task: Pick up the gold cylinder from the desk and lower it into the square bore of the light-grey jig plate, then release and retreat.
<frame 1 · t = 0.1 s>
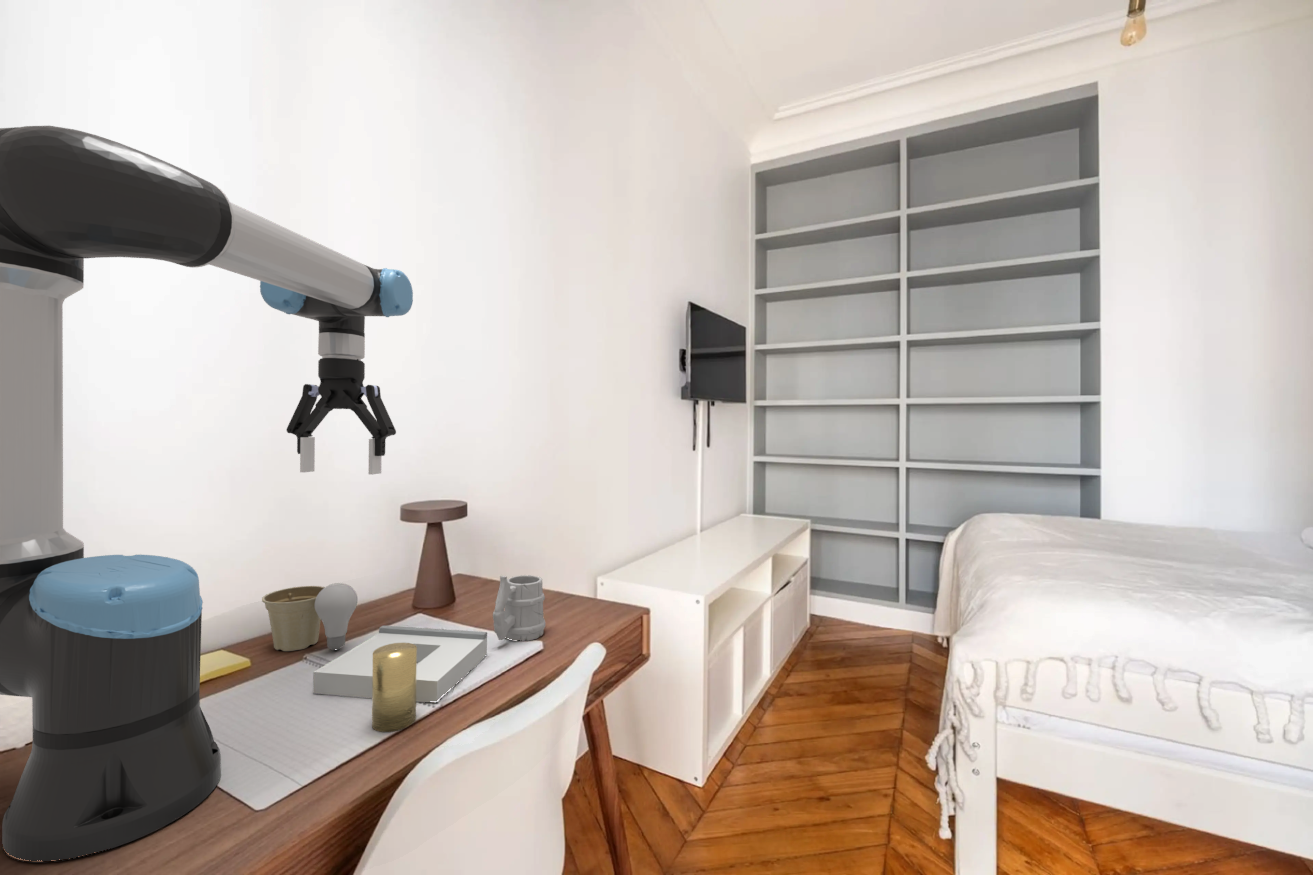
hand: (340, 473, 104), 28 cm above the table, fingers open, 13 cm apart
lightbulb: (336, 651, 91), on the table
gold cylinder: (394, 721, 70), on the table
jig: (407, 672, 84), on the table
mug: (516, 638, 98), on the table
flower pot: (295, 646, 93), on the table
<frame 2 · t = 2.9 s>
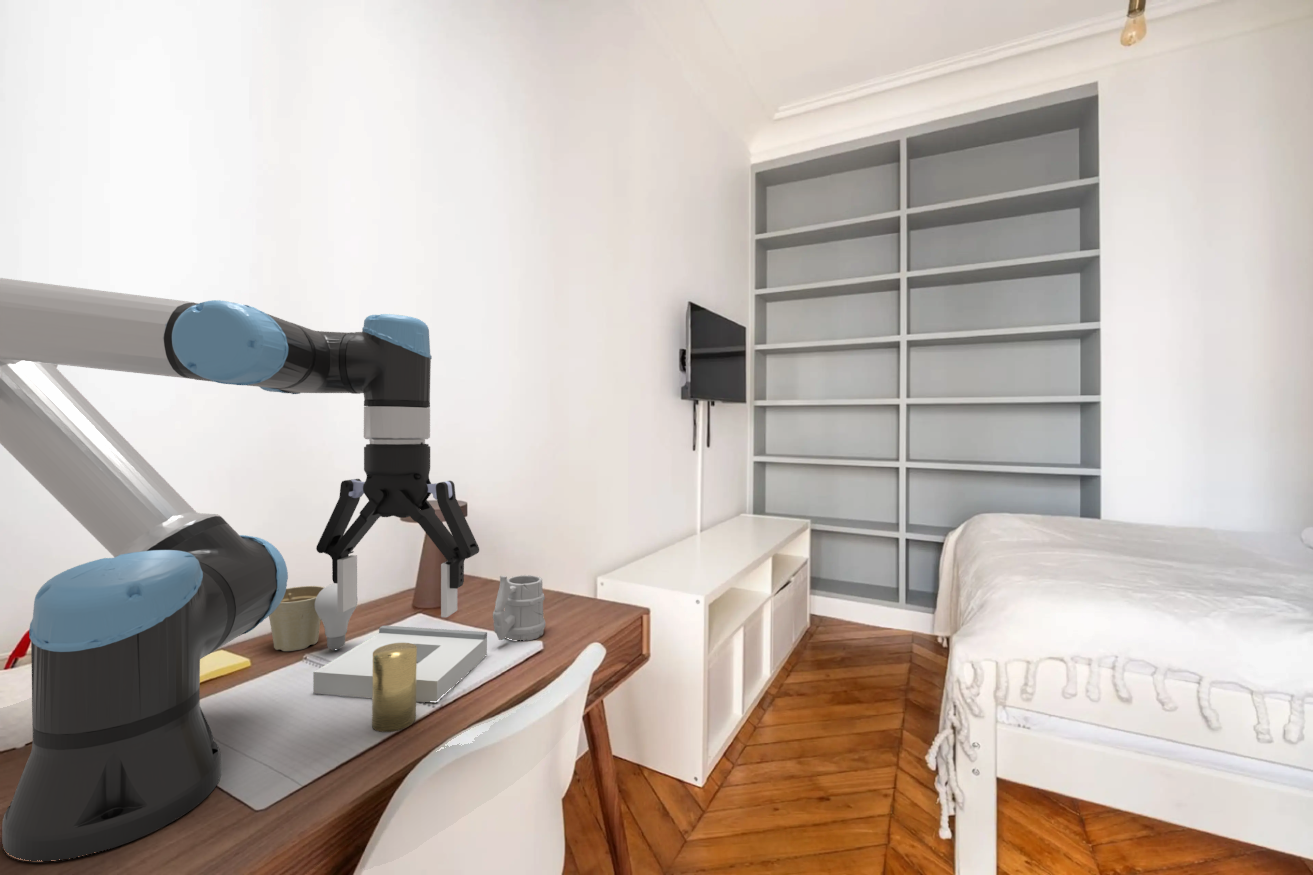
hand: (397, 611, 70), 14 cm above the table, fingers open, 13 cm apart
nothing on the table moved.
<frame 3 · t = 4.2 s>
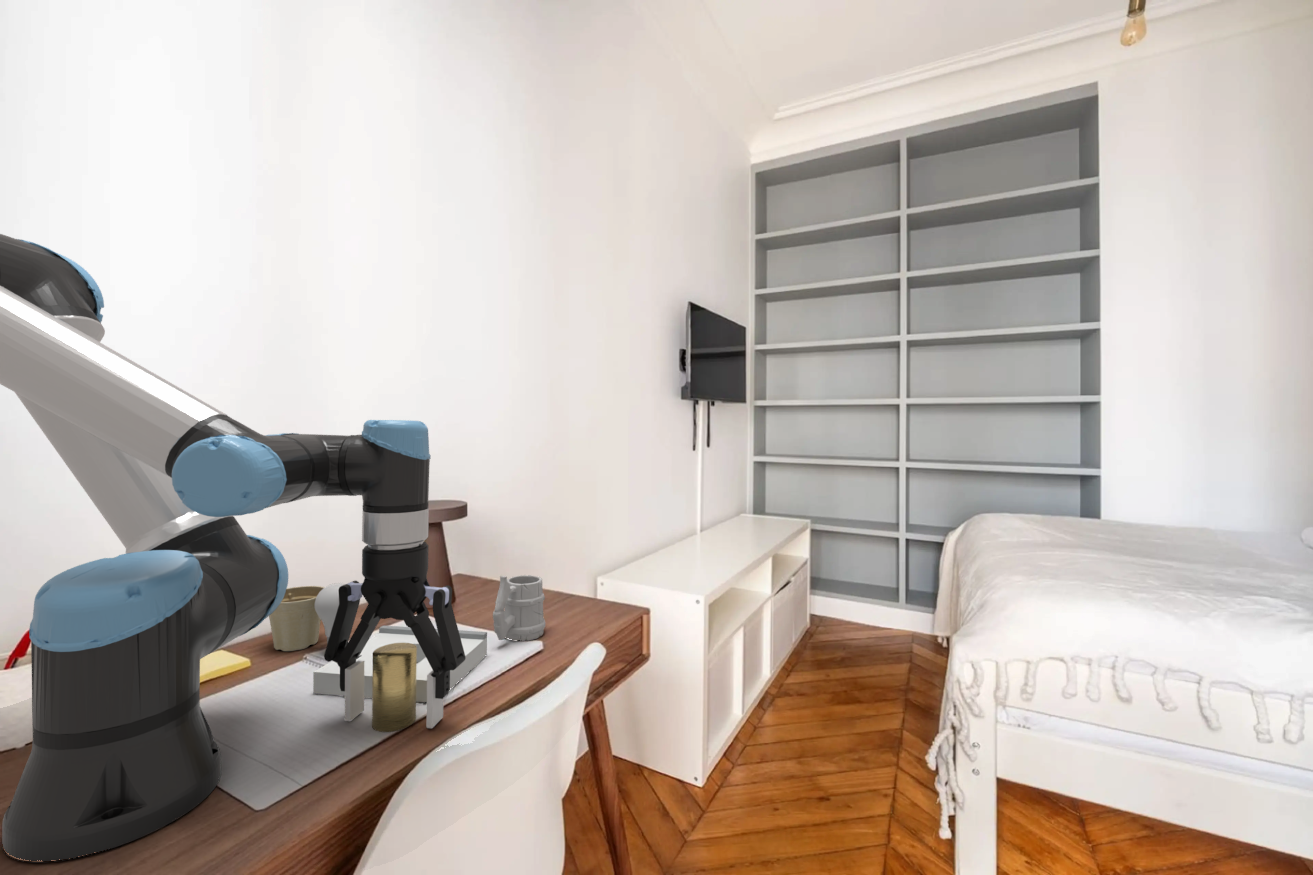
hand: (394, 718, 70), 0 cm above the table, fingers open, 10 cm apart
nothing on the table moved.
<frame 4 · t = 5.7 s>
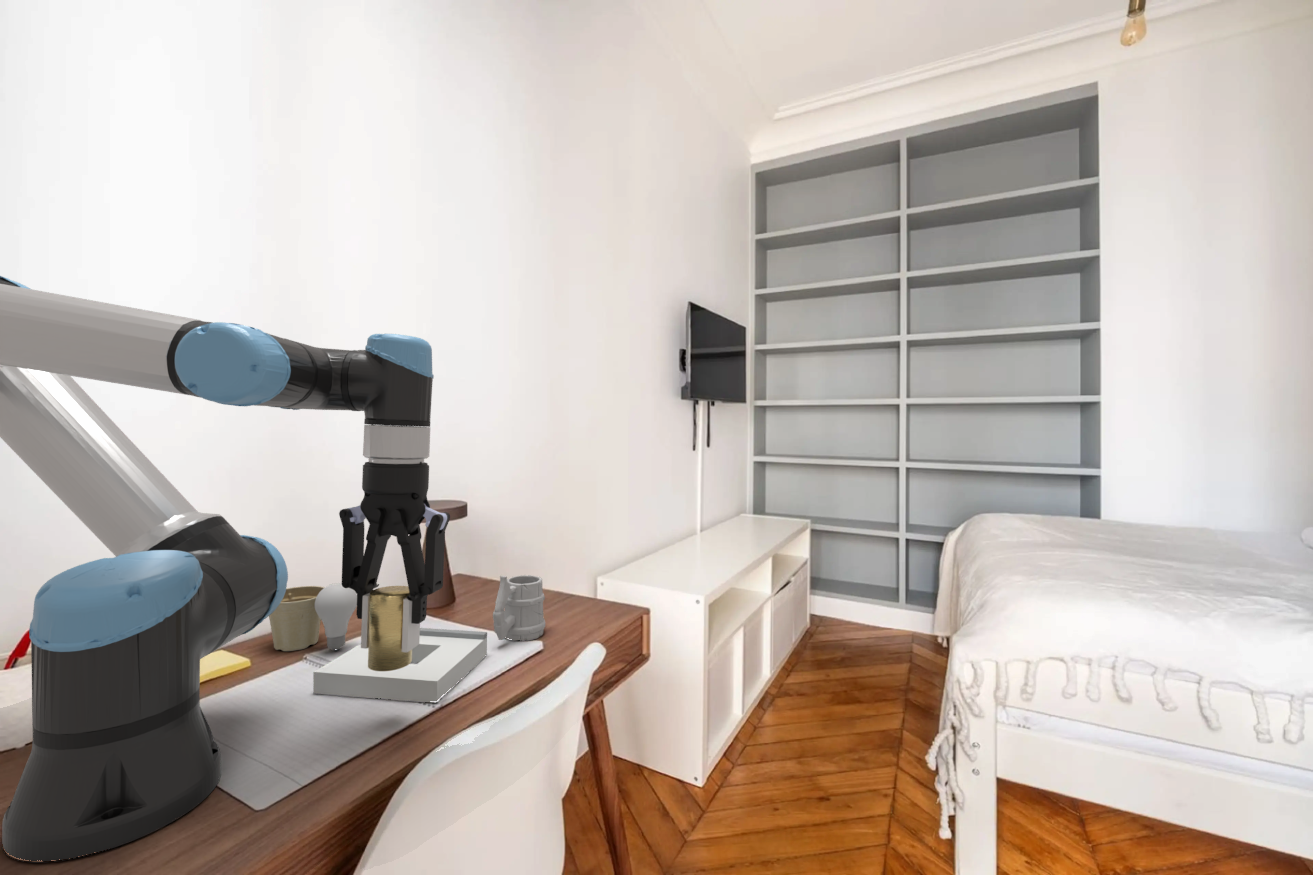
hand: (390, 645, 70), 10 cm above the table, fingers closed on gold cylinder, 5 cm apart
gold cylinder: (390, 662, 70), point 7 cm above the table, touching gripper
everything else where it was.
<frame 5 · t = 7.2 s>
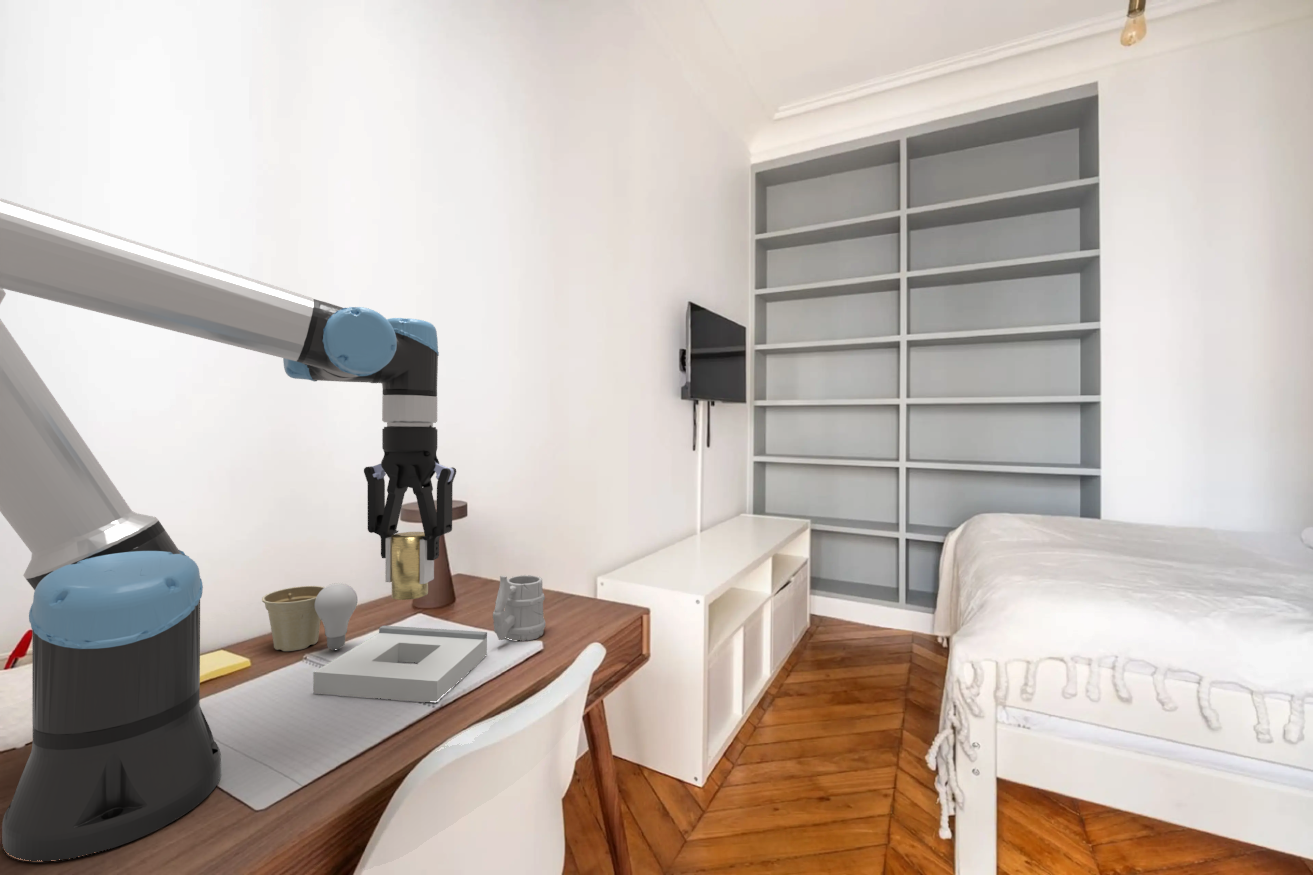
hand: (410, 580, 83), 14 cm above the table, fingers closed on gold cylinder, 5 cm apart
gold cylinder: (410, 594, 83), point 12 cm above the table, touching gripper
everything else where it was.
when the fingers open (3 cm above the table, at t = 8.9 s): gold cylinder drops 1 cm, resting in jig.
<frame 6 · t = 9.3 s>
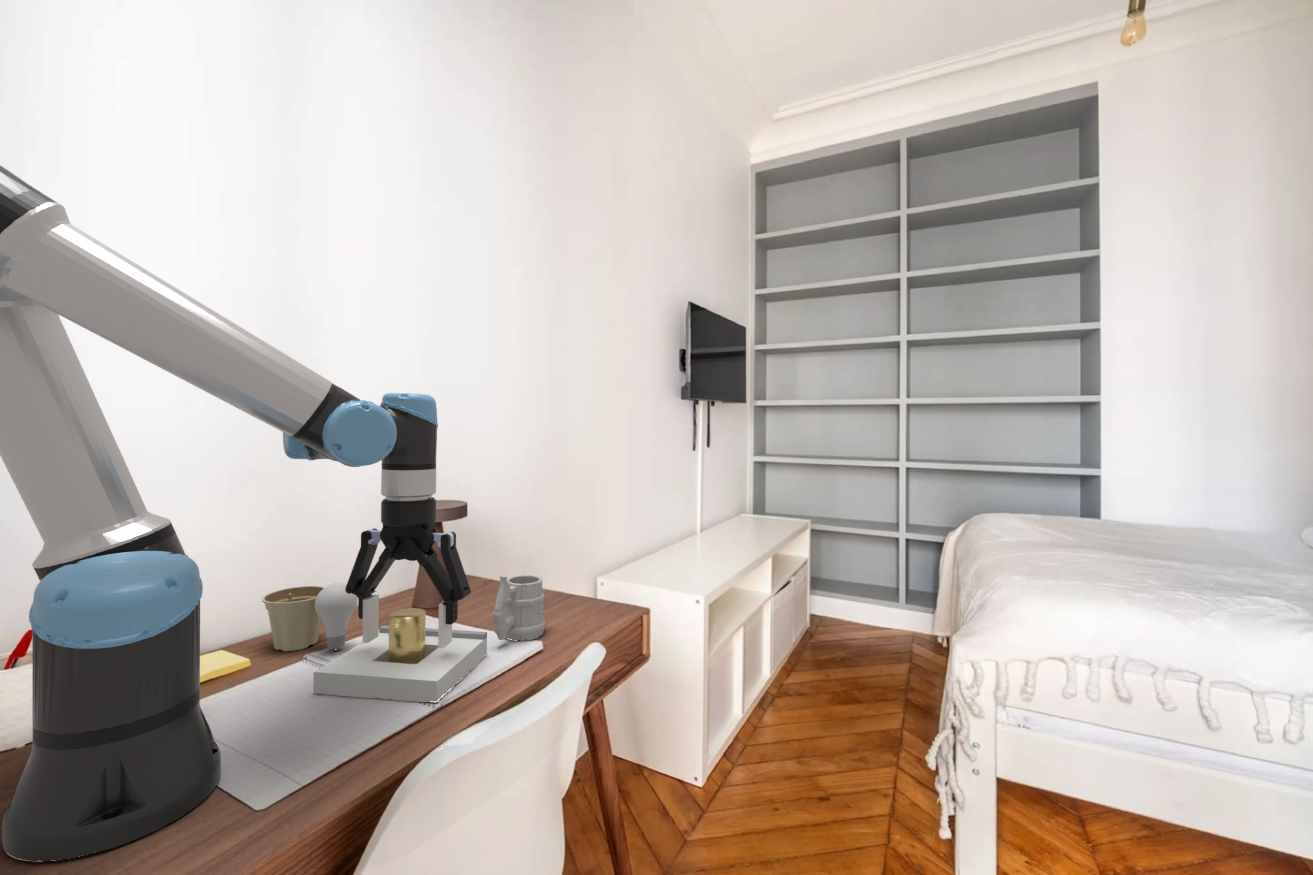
hand: (407, 642, 84), 5 cm above the table, fingers open, 11 cm apart
gold cylinder: (406, 672, 84), resting in jig
everything else where it was.
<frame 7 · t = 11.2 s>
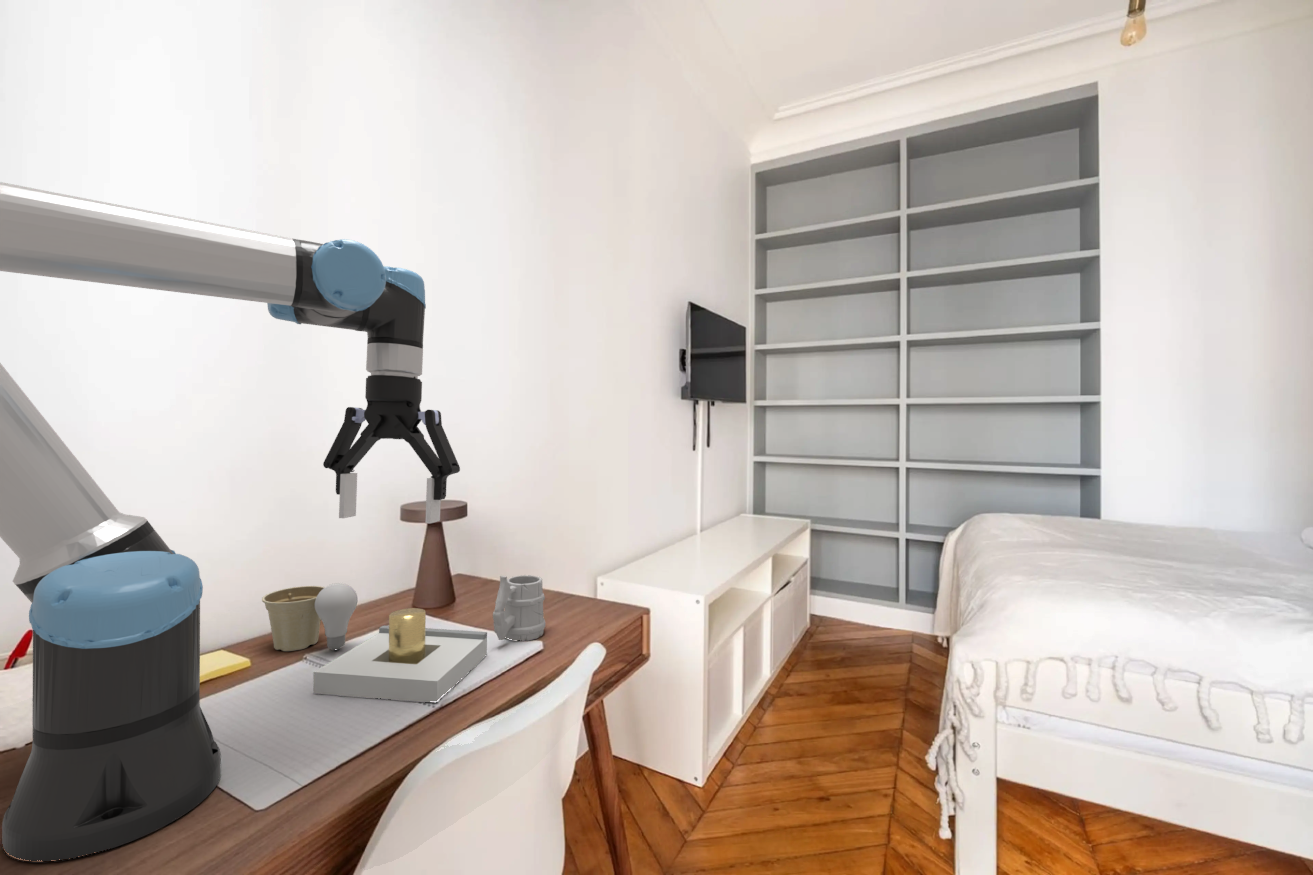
hand: (389, 519, 82), 23 cm above the table, fingers open, 13 cm apart
nothing on the table moved.
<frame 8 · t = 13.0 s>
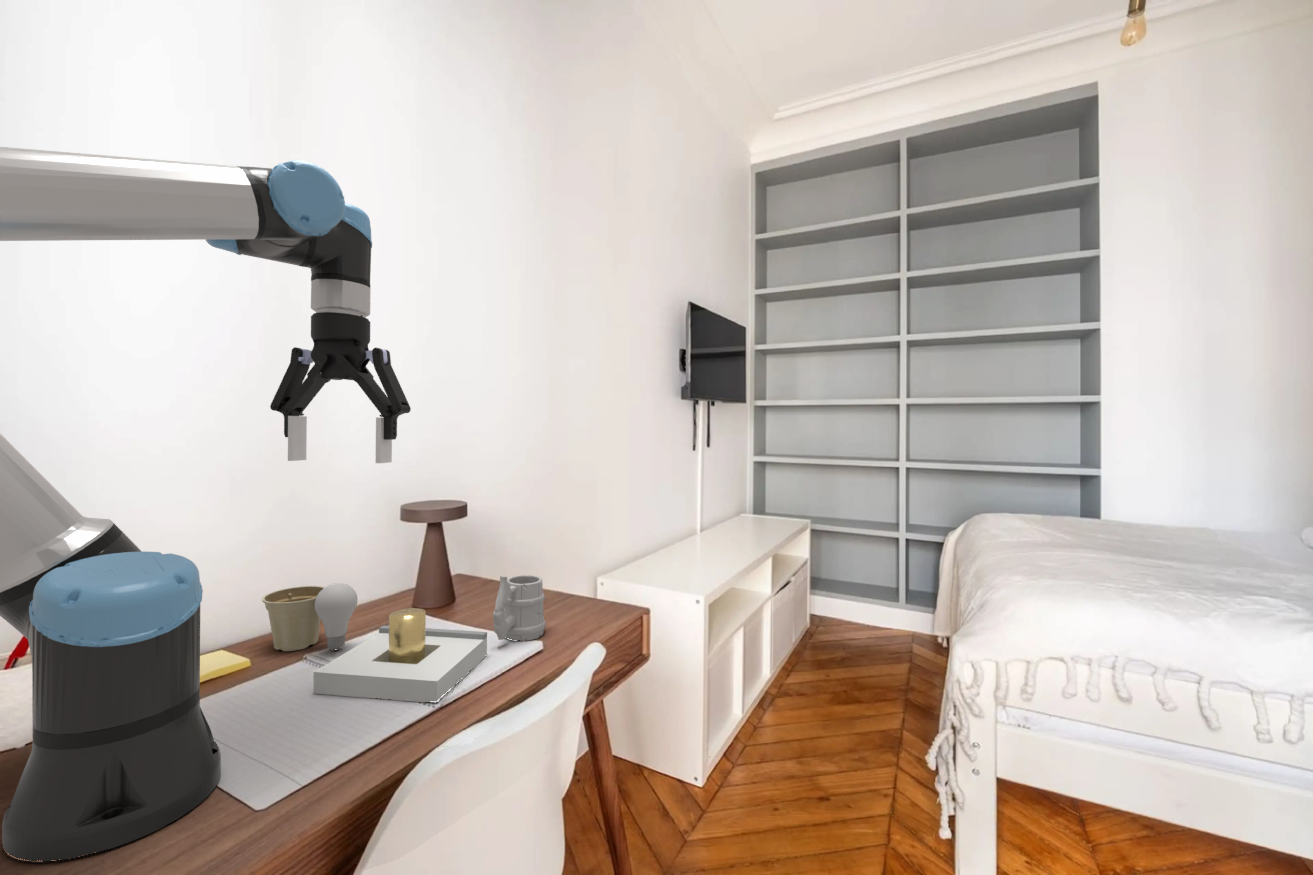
hand: (340, 461, 81), 32 cm above the table, fingers open, 13 cm apart
nothing on the table moved.
at the end: gold cylinder 0.0 cm off-centre on the jig, point 0.0 cm above the jig's base; gold cylinder tilted 0°; the gripper is holding nothing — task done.
